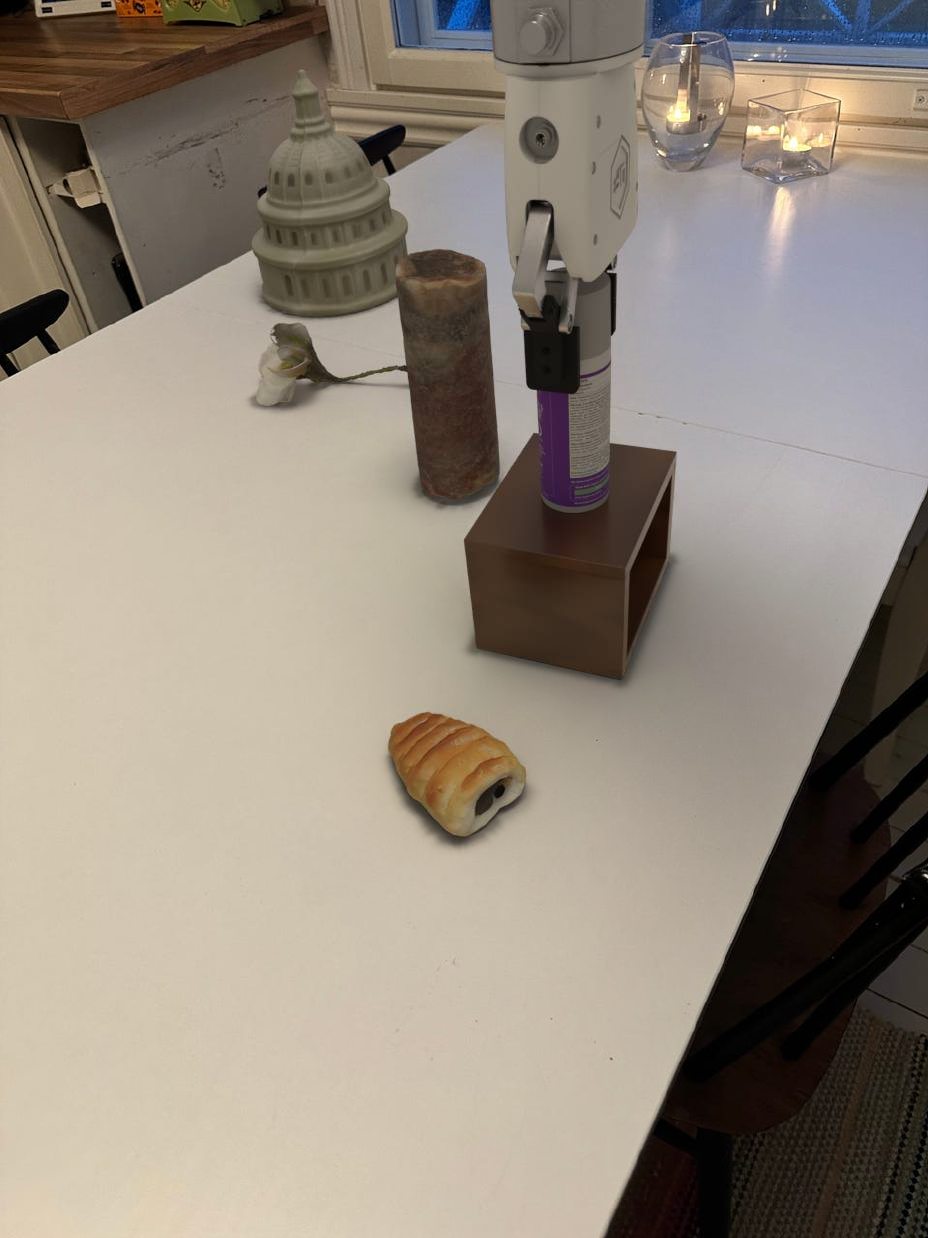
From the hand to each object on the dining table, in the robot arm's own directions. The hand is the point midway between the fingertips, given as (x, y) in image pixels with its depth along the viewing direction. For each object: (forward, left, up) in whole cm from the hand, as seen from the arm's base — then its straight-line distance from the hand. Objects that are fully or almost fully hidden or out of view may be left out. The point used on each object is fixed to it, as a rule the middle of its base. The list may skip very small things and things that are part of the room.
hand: (572, 358), depth 57 cm
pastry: (+2, +19, -20) cm, 28 cm away
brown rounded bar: (+15, -13, -20) cm, 28 cm away
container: (0, 0, -10) cm, 10 cm away
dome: (+49, -52, -20) cm, 74 cm away
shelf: (0, 0, -20) cm, 20 cm away
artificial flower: (+33, -26, -20) cm, 47 cm away
